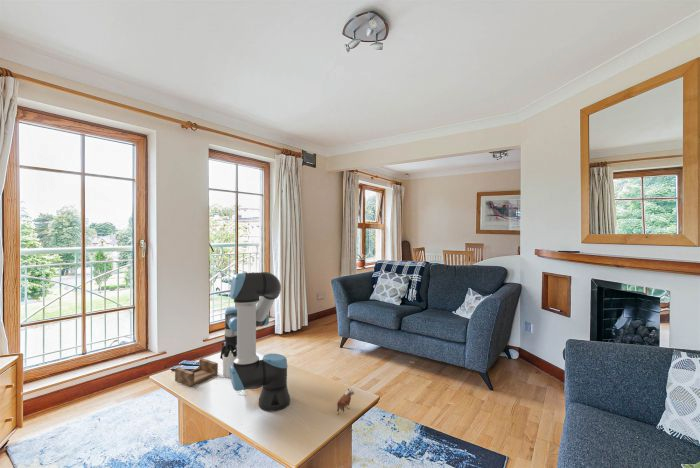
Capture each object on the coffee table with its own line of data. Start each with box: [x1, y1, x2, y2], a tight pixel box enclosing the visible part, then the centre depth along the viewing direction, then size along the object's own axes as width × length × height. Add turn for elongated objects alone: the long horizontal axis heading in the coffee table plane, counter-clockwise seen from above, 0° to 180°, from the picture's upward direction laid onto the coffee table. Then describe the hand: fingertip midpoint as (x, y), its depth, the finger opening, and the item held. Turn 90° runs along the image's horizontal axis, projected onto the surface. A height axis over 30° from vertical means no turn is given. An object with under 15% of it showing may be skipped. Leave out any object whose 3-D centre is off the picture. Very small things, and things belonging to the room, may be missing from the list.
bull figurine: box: [336, 388, 356, 414], centre depth 153 cm, size 4×13×8 cm, turn 149°
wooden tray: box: [174, 358, 219, 388], centre depth 182 cm, size 14×17×7 cm
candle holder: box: [222, 351, 237, 379], centre depth 187 cm, size 10×10×12 cm
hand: (231, 373), depth 187 cm, fingers closed on candle holder, 9 cm apart
